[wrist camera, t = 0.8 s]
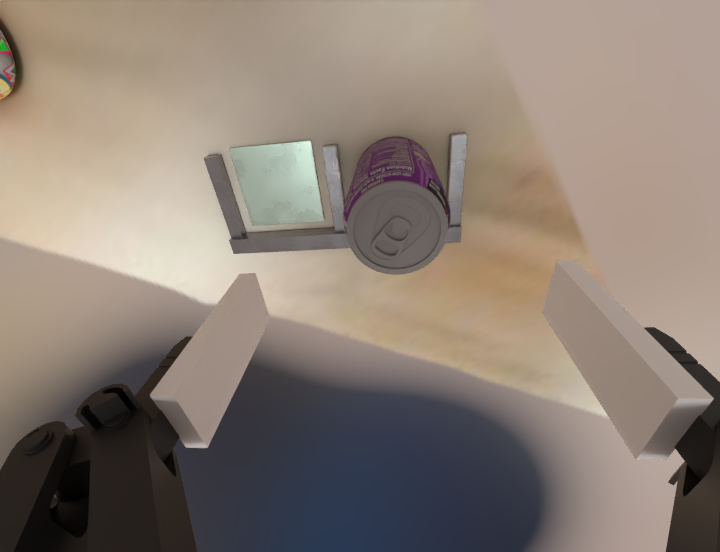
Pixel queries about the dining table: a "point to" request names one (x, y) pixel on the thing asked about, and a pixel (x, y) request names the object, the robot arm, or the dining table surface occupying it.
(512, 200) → the dining table surface
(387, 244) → the beverage can
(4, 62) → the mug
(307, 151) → the grey flat frame
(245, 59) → the dining table surface
